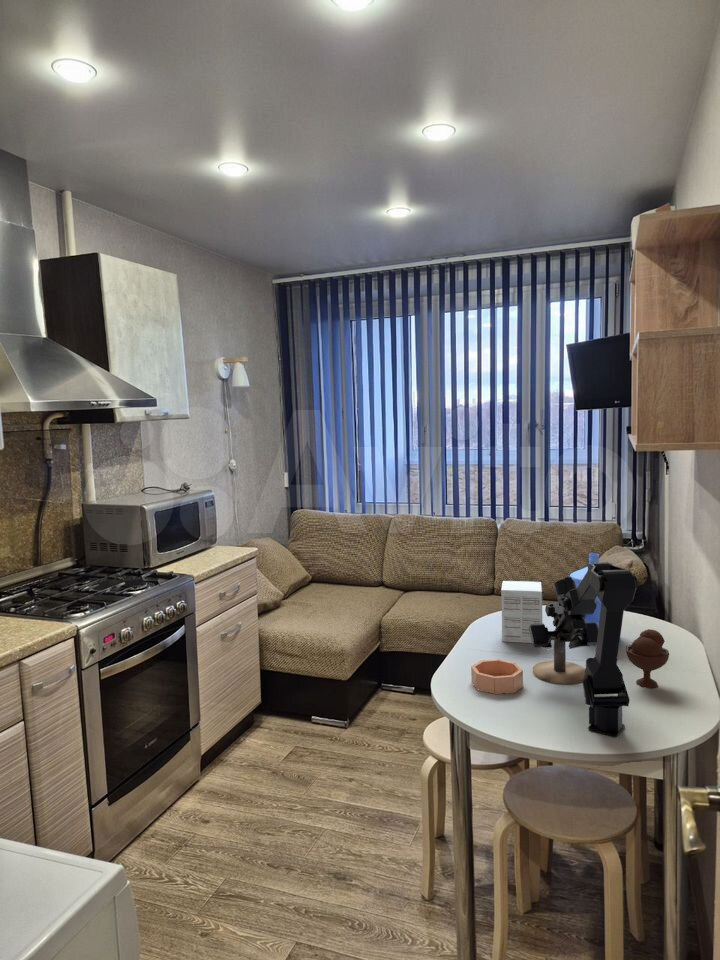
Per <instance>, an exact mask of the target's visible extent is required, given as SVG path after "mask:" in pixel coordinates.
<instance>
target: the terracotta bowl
mask: <svg viewBox="0 0 720 960" xmlns="http://www.w3.org/2000/svg"><path fill="white" fill-rule="evenodd" d="M470 667H471V669H470V670H471V671H470V672H471V673H470V675H471V683H472V685H473V684H474V685H473V686H474V688H475V687H476V688H475V690H477V689H479V690H478V691H480V690H482V691H481V692H484V691H486V692H485V693H488V692H490V693H489V694H492V693H493V694H492V695H503V694H502V693H506V694H515V693H517V692H518V691H519V690H520V689H522V688H523V687H524V670H523V669H522V668H521V667H520V666H519V664H518V663H517V662H512V661H508V660H504V659H501V658H500V659H485V660H479V661H477V662H476V663H474V664H473V665H471V666H470Z"/></svg>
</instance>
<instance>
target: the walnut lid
mask: <svg viewBox="0 0 720 960" xmlns="http://www.w3.org/2000/svg"><path fill="white" fill-rule="evenodd" d="M553 631H555V629H554V630H553ZM566 643H567V642H559V640H553V660H545V661H544V660H543V661H540V662H538V663H535V664H534V665H533V666H532V675H534V677H535V678H538V679H539V680H541V681H544V682H547V683H551V684H558V685H573V684H579V683H582V681H583V676H584V675H585V669H586V667H584V666H582V665H580V664H577V663H574V662H570V661H567V659H566V657H567V655H566V653H567V652H566V649H567V648H566Z"/></svg>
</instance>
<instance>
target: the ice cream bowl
mask: <svg viewBox="0 0 720 960" xmlns="http://www.w3.org/2000/svg"><path fill="white" fill-rule="evenodd" d="M664 643H665V639H664V637H663V635H662V634H661V632H659V631H658V630H655V629H645V630H643V631H641V632H640V634H639V636H638V637H637V638H635V639H634V640H633V642H632V643H631V644H629V645H626V646H625V653H626V656H627V659H628V661H629V662H630V663H632V665H633V666H635V667H636V668H638V669H639V670H642V671H643V677H641V678H638V679H637V680H636V681H635V684H636V685H637V686H639V687H640V686H641V687H642V688H644V687H646V689H653V688H652V687H655V688H657V687H656V686H658V682H657V681H656V680H654V679H652V678H651V673H652V671H655V670H658V669H660V668H662V667H664V665H666V664H667V662H668V660H669V657H670V652H669V650H668V649H667V648H665V647H663V645H664Z"/></svg>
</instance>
